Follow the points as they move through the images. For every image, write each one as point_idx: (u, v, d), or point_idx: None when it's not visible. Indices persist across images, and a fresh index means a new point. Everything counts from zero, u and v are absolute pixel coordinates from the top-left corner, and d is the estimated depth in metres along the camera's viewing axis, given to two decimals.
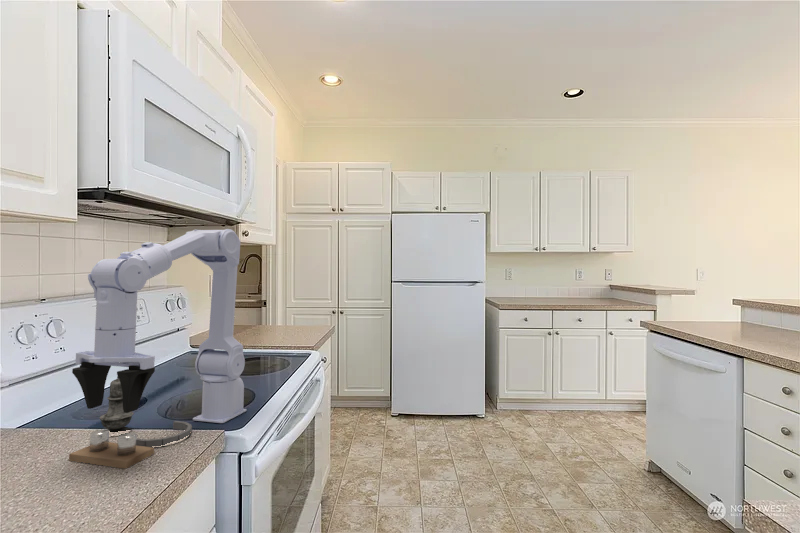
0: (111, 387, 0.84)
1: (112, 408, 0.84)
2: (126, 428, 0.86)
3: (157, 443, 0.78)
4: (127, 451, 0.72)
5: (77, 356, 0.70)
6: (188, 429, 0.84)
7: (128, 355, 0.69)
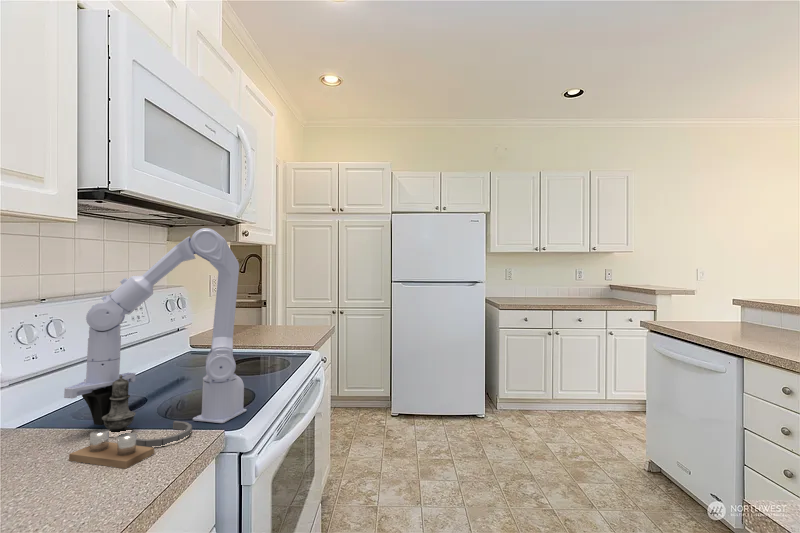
0: (113, 387, 0.84)
1: (115, 408, 0.84)
2: (128, 428, 0.86)
3: (157, 443, 0.78)
4: (127, 451, 0.72)
5: None
6: (188, 429, 0.84)
7: (89, 383, 0.84)
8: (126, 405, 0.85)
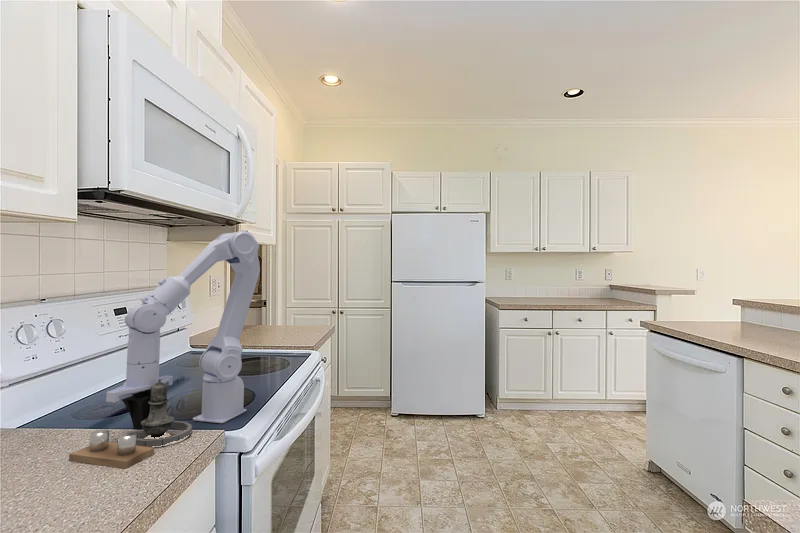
0: (152, 391, 0.82)
1: (153, 412, 0.81)
2: None
3: (157, 443, 0.78)
4: (127, 451, 0.72)
5: None
6: (188, 429, 0.84)
7: (129, 386, 0.82)
8: (164, 410, 0.83)
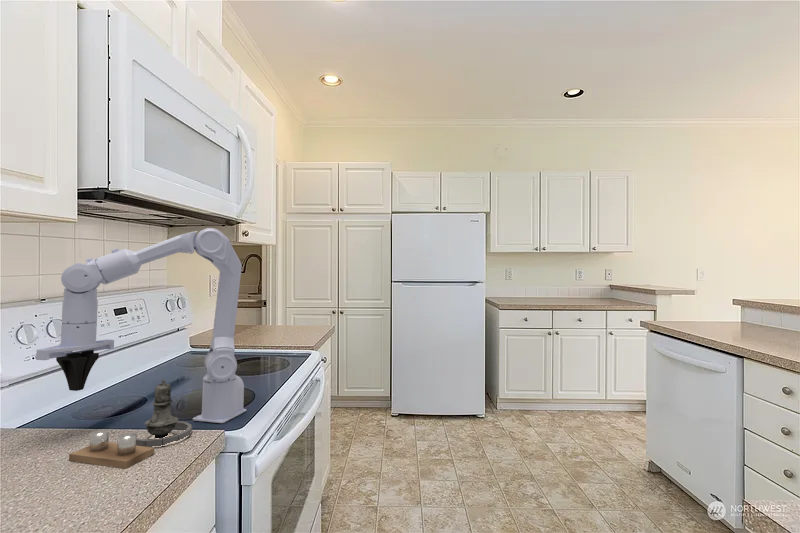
0: (156, 392, 0.82)
1: (157, 413, 0.81)
2: None
3: (157, 443, 0.78)
4: (127, 451, 0.72)
5: None
6: (188, 429, 0.84)
7: (63, 346, 0.81)
8: (168, 410, 0.82)
